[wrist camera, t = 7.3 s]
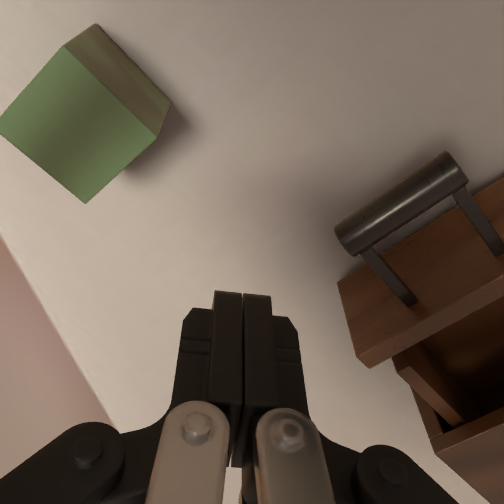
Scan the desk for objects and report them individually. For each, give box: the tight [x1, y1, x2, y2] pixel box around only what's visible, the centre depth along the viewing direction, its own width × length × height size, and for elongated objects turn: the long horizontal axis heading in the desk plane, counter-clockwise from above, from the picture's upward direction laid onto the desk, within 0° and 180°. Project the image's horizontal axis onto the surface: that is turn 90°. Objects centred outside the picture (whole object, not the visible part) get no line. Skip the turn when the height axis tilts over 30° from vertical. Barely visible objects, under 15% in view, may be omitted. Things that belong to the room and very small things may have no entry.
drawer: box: [334, 151, 504, 429], centre depth 26 cm, size 20×12×6 cm, turn 41°
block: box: [0, 24, 171, 204], centre depth 21 cm, size 5×5×5 cm
